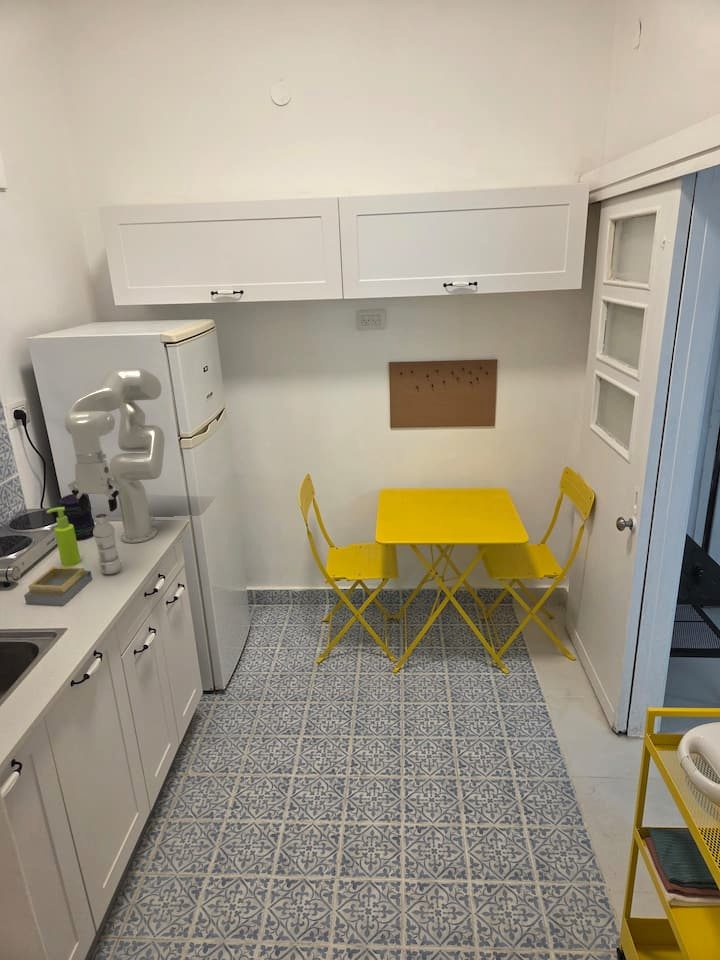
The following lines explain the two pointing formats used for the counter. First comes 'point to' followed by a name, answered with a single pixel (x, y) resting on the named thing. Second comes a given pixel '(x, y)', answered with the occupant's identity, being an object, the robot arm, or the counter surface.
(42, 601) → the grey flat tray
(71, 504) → the storage jar
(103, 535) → the plastic bottle
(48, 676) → the counter surface
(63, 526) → the soap dispenser
